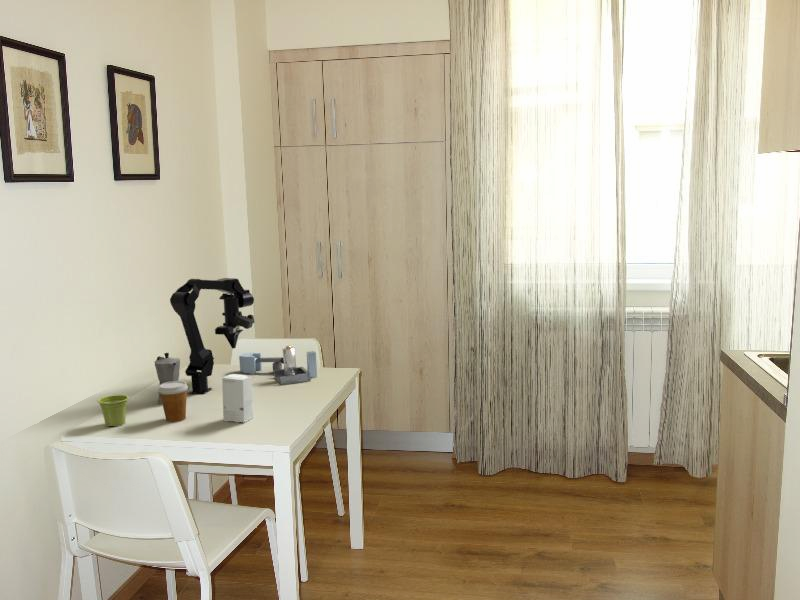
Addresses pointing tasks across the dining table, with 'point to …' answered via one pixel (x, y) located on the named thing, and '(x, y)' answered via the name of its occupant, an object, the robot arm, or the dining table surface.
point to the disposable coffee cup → (174, 400)
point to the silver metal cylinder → (289, 361)
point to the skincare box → (237, 398)
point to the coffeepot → (167, 370)
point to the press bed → (299, 372)
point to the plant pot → (114, 409)
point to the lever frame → (254, 363)
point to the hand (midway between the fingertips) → (233, 348)
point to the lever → (270, 359)
